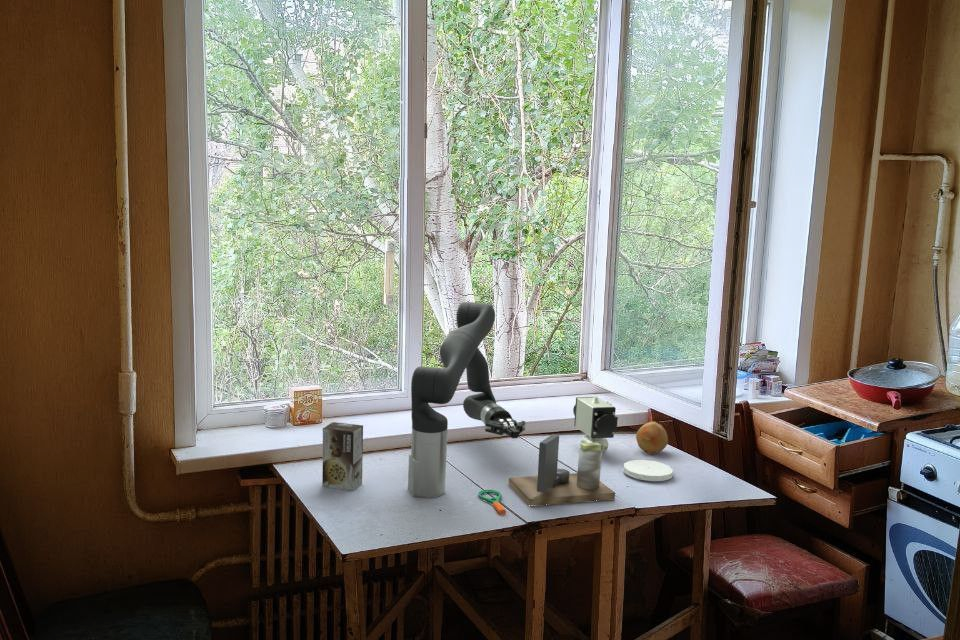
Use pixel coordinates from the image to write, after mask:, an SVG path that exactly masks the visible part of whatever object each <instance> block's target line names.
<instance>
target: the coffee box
mask: <svg viewBox="0 0 960 640" xmlns="http://www.w3.org/2000/svg"><path fill="white" fill-rule="evenodd" d="M363 437H364V425H362V424H361V425H360V424H354V423H353V424H352V423H346V422H338V421H337V422H334V421H333V422H330V423H329V424H328V425H326V426H324V427H322V475H321V476H322V477H321V478H322V487H323V488H331V489H339V490H346V491H354V490H356V489H358V488H359V487H360V486H361V485H362V484H363V451H364V447H363V446H364V444H363V443H364V438H363Z"/></svg>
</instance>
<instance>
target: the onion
mask: <svg viewBox="0 0 960 640" xmlns="http://www.w3.org/2000/svg"><path fill="white" fill-rule="evenodd" d="M635 439H636V443H637V445H638V447H639V448H640V450H641V451H643V452H645V453H647V454H650V455H656V454H658V453H660V452H662V451H663V450H665V448H666V447H667V445H668V444H669V436H668V433H667V431H666V429H665V428H664V426H663V425H662V424H660V423H658V422H657V421H649V422H647V423H645V424H643V425H642V426H641V427H640V428H639V429H638V430H637V432H636V434H635Z"/></svg>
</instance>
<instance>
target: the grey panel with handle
mask: <svg viewBox="0 0 960 640" xmlns="http://www.w3.org/2000/svg"><path fill="white" fill-rule="evenodd" d="M559 445H560V435H559V434H554V433H553V434H551V435H549V436H548V437H545V438H544V439H543V440H542V441H540V442H539V448H538V449H539V451H538V466H537V476H538V479H537V492H541V493H544V492H545V491H546V490H548V489H549V488H550V487H552V486H555V485H557V484H558V483H561V484H563V483H568V482H569V476H570V474H571V473H570V471H569V470H568V469H564V468H558V461H559V447H560V446H559Z"/></svg>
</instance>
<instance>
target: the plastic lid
mask: <svg viewBox="0 0 960 640" xmlns="http://www.w3.org/2000/svg"><path fill="white" fill-rule="evenodd" d="M673 469H674V468H672V467H671V466H670V465H668V464H665V463H663V462H659V461H655V460H648V459H635V460H629V461H626V462H624V464H623V473H624V474H626V476H629V477H630V478H633V479H637V480H642V481H647V482H648V481H649V482H663V481H668V480H671V479H672V478H673V475H674V470H673Z"/></svg>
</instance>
